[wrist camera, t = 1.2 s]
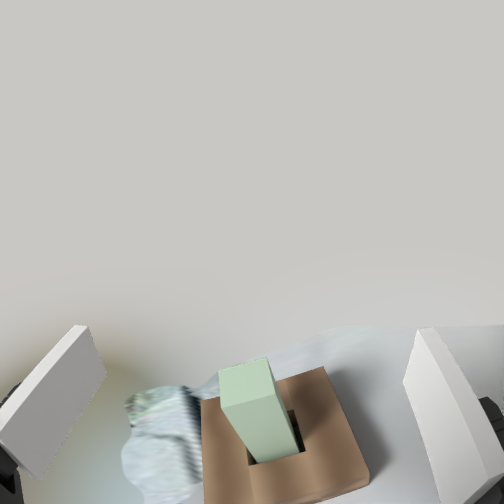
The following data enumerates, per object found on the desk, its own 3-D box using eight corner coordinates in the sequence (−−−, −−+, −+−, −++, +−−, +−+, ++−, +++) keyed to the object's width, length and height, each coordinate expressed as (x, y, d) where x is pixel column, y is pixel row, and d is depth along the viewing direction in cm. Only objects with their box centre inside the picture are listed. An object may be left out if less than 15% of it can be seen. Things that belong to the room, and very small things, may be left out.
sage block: (294, 432, 32) (266, 356, 26) (303, 461, 28) (275, 393, 22) (258, 442, 32) (218, 370, 26) (264, 472, 28) (220, 407, 22)
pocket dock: (326, 385, 37) (323, 365, 35) (368, 484, 22) (369, 473, 21) (212, 417, 37) (200, 400, 35) (219, 521, 22) (205, 513, 21)
